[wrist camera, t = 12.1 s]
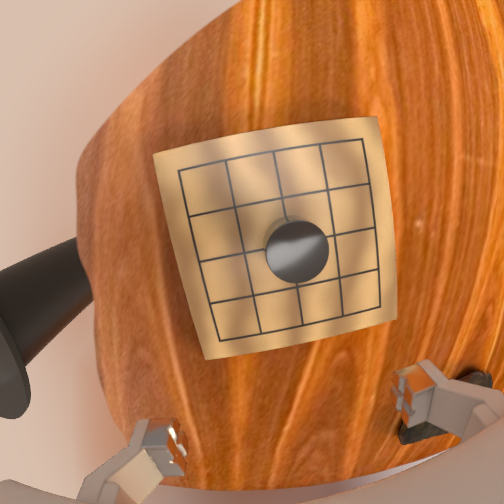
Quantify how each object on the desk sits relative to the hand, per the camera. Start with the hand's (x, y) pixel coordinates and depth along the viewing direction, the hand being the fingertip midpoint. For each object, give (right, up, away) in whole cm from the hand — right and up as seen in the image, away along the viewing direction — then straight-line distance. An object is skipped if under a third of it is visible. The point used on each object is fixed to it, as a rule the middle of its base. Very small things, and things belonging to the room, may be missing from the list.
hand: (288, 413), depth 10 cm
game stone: (+2, +6, +16) cm, 18 cm away
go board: (+2, +7, +18) cm, 19 cm away
